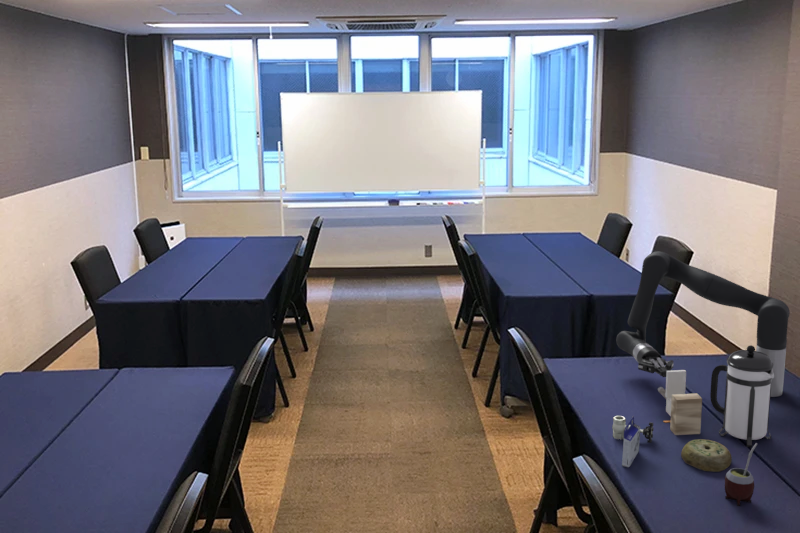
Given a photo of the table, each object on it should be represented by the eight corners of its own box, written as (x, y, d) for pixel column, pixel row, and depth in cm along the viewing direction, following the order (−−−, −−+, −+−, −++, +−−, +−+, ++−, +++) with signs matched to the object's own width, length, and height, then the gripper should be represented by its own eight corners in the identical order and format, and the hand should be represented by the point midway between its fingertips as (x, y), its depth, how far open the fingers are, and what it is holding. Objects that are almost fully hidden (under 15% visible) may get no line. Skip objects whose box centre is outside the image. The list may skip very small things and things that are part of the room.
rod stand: (648, 404, 252) (649, 372, 249) (671, 403, 252) (672, 371, 249) (675, 435, 230) (676, 399, 227) (700, 433, 230) (702, 398, 227)
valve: (610, 440, 228) (650, 447, 223) (610, 421, 227) (650, 427, 221) (614, 431, 234) (653, 438, 229) (614, 412, 232) (654, 418, 227)
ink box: (629, 468, 211) (630, 431, 209) (621, 466, 212) (622, 430, 210) (640, 451, 221) (641, 416, 218) (632, 449, 222) (633, 414, 219)
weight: (739, 472, 206) (740, 456, 205) (691, 474, 207) (692, 458, 206) (719, 450, 220) (720, 434, 218) (674, 451, 220) (675, 436, 219)
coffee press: (767, 427, 232) (774, 338, 225) (774, 450, 217) (782, 356, 210) (708, 421, 238) (713, 334, 231) (711, 444, 223) (717, 351, 216)
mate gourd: (724, 504, 191) (727, 452, 188) (723, 489, 198) (726, 439, 195) (755, 509, 188) (759, 456, 185) (753, 494, 195) (757, 442, 192)
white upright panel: (664, 411, 240) (666, 370, 237) (682, 410, 240) (684, 369, 237) (669, 416, 236) (671, 375, 233) (687, 415, 236) (689, 374, 233)
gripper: (628, 347, 261) (646, 365, 244) (665, 345, 262) (685, 362, 245) (628, 367, 263) (645, 385, 246) (664, 365, 263) (684, 383, 246)
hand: (665, 374), depth 245 cm, fingers closed
